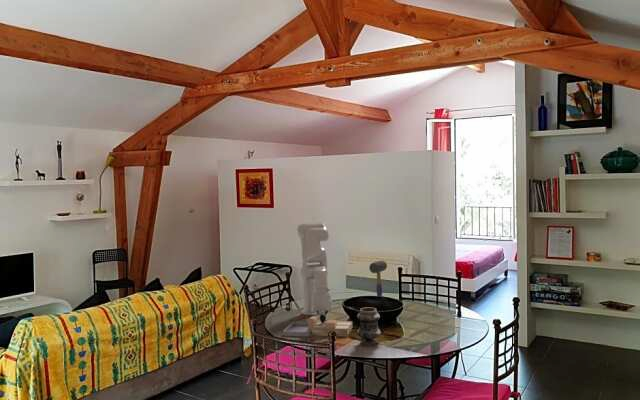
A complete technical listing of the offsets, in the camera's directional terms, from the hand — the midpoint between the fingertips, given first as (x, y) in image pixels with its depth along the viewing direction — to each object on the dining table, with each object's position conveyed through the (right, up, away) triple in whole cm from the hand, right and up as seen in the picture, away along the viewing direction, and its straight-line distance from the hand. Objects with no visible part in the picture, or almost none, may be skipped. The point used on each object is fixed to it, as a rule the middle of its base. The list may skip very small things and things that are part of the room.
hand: (323, 322), depth 292 cm
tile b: (+4, -1, -8) cm, 10 cm away
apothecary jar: (+24, -4, -28) cm, 38 cm away
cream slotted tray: (+6, -4, -5) cm, 9 cm away
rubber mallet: (+39, -1, +50) cm, 64 cm away
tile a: (-5, -1, +1) cm, 5 cm away
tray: (-13, -5, 0) cm, 14 cm away
